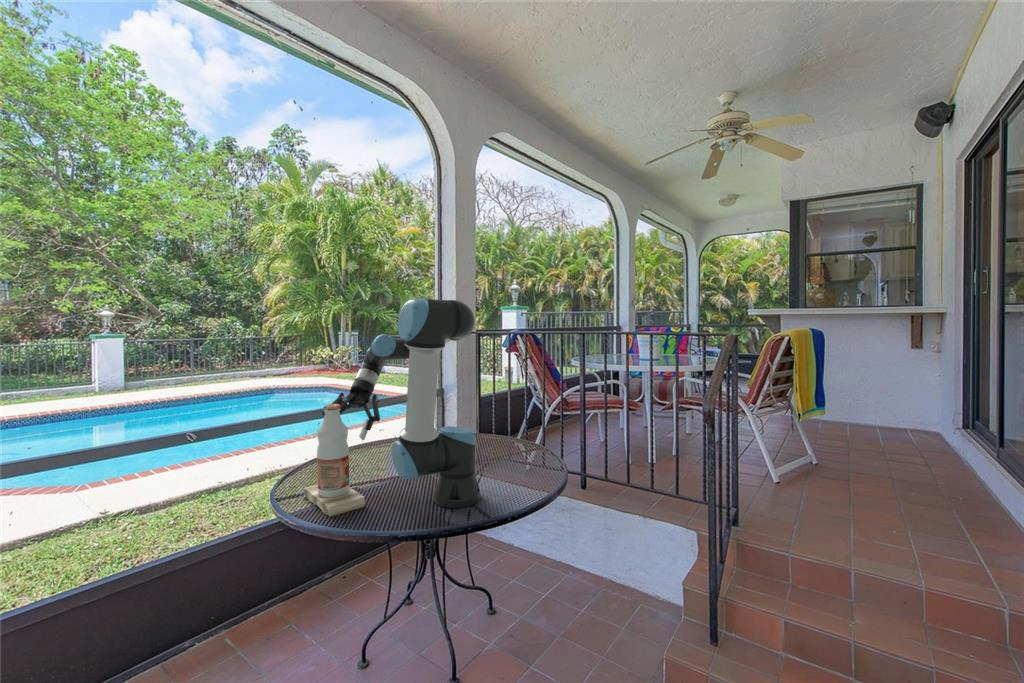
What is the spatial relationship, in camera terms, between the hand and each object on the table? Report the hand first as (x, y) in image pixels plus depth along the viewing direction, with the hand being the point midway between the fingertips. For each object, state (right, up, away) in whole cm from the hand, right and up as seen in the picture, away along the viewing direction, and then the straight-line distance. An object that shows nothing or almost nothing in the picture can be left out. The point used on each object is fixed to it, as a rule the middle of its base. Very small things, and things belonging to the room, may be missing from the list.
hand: (342, 437), depth 147 cm
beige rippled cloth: (-1, -20, -5) cm, 20 cm away
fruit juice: (-1, -17, -5) cm, 17 cm away
